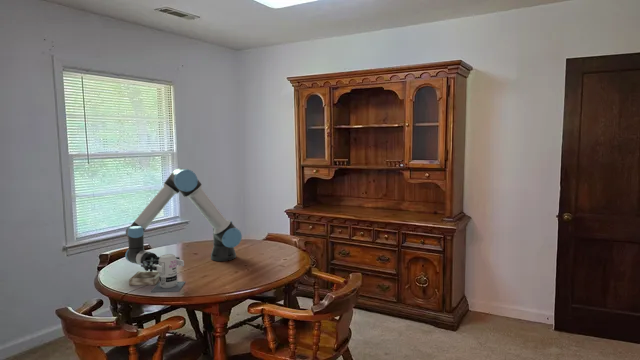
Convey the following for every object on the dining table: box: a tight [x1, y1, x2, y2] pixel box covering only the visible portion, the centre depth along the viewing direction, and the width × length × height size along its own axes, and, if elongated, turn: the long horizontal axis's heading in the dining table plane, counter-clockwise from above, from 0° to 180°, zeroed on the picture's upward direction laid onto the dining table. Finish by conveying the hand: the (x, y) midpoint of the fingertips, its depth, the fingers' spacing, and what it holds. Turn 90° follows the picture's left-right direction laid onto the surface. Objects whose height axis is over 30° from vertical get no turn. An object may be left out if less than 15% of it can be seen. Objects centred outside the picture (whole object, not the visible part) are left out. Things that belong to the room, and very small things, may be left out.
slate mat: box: [150, 281, 186, 293], centre depth 208 cm, size 13×13×1 cm
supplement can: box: [158, 253, 178, 288], centre depth 208 cm, size 8×8×15 cm
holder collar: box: [128, 270, 160, 286], centre depth 218 cm, size 13×13×3 cm
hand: (172, 266), depth 205 cm, fingers open, 11 cm apart
